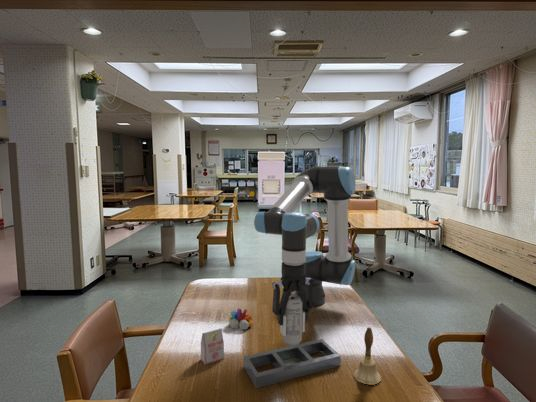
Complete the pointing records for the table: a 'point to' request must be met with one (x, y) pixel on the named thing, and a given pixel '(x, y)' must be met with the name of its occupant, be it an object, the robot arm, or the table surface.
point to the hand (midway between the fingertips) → (292, 331)
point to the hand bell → (367, 363)
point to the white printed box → (212, 346)
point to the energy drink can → (293, 321)
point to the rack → (290, 362)
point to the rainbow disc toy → (240, 319)
